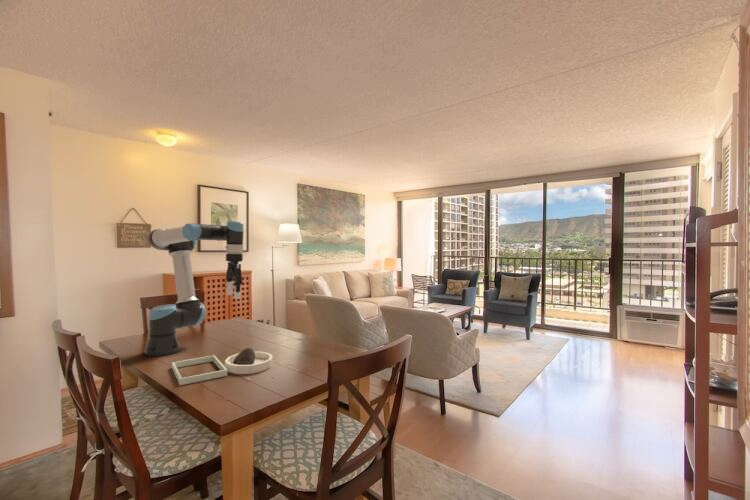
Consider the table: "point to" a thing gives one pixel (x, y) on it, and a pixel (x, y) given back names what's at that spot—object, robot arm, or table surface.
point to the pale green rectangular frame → (202, 376)
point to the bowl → (260, 364)
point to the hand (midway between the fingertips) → (233, 296)
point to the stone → (245, 357)
